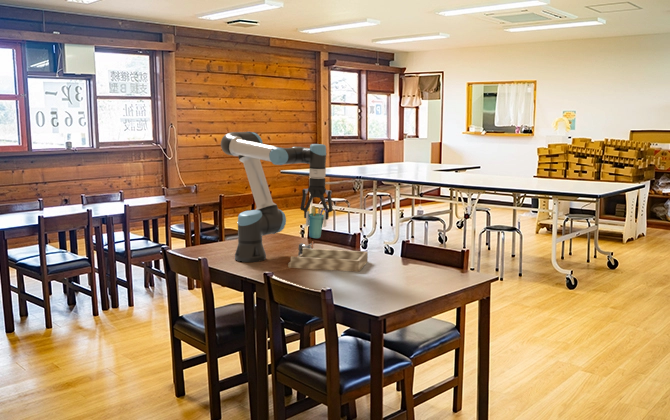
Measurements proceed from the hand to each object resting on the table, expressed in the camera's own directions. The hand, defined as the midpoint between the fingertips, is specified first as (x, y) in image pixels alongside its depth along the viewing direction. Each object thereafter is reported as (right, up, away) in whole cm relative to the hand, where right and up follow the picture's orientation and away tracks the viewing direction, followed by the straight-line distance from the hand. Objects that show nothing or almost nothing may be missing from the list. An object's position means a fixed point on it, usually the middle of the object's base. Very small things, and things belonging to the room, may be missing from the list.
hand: (316, 225), depth 295 cm
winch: (-6, -16, +20) cm, 26 cm away
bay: (+6, -18, +1) cm, 19 cm away
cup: (0, -6, +1) cm, 6 cm away
